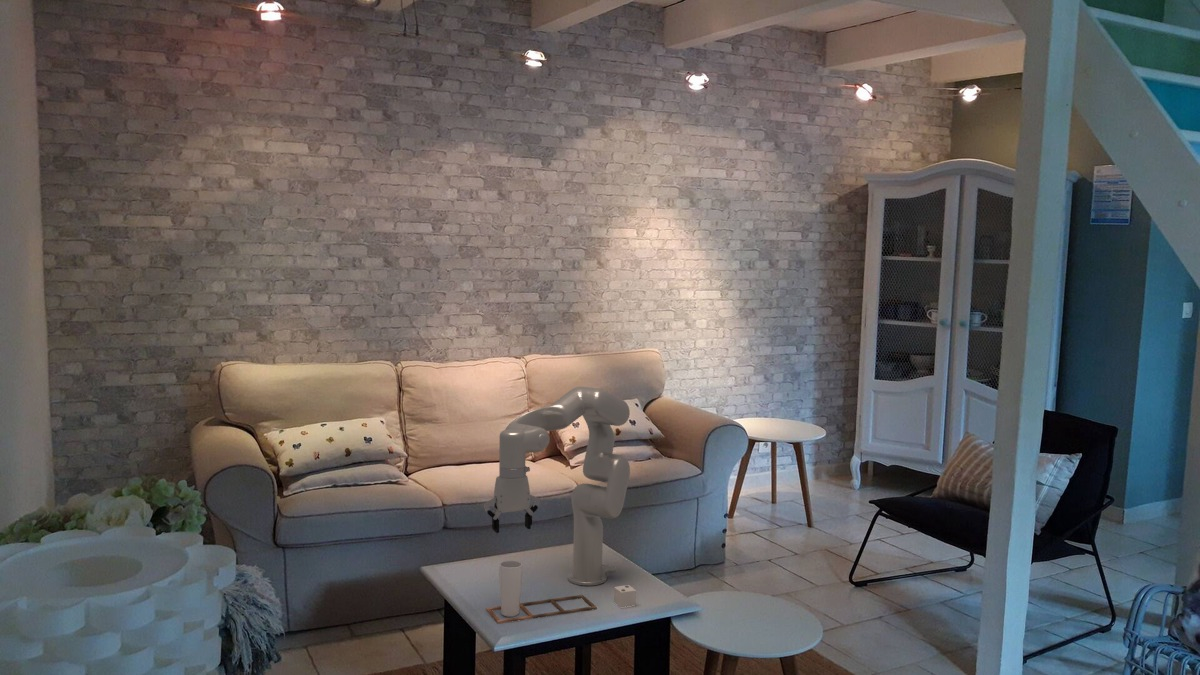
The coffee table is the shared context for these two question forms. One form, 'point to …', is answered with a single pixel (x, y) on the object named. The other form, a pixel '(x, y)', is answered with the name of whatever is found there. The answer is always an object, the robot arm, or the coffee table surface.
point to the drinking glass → (510, 587)
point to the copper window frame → (530, 616)
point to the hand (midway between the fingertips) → (512, 529)
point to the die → (624, 596)
